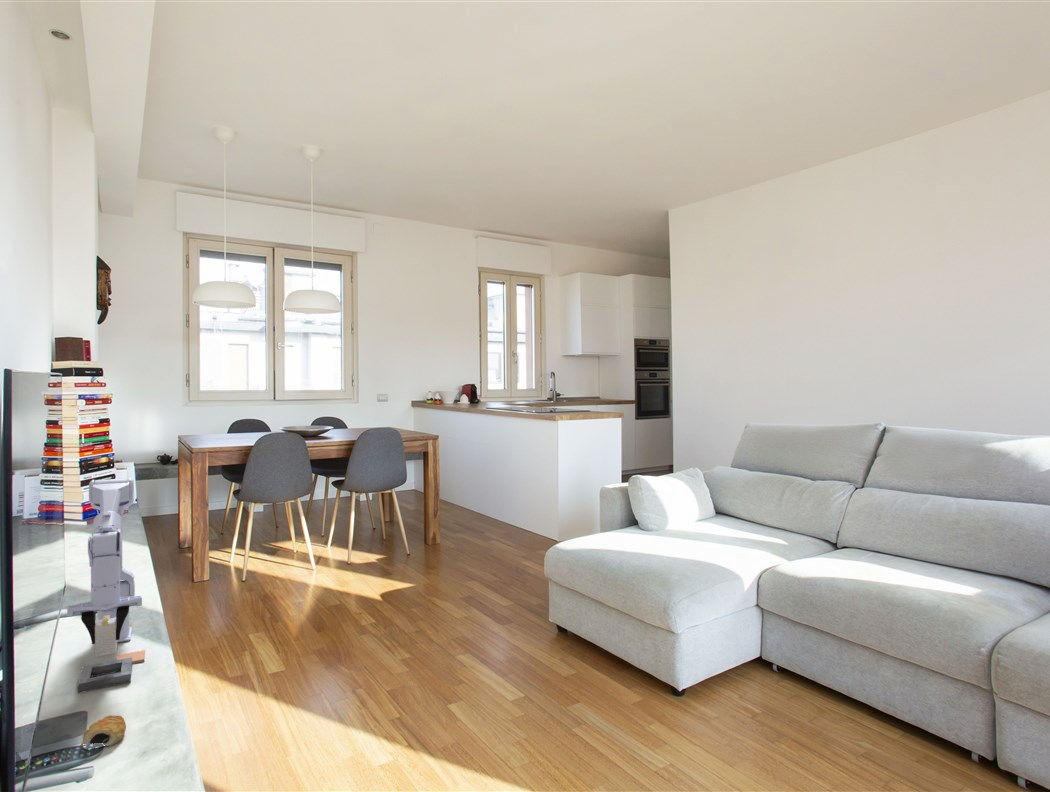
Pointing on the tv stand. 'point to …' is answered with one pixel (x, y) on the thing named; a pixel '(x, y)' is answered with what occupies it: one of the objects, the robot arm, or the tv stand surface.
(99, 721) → the pastry
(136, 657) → the terracotta pad
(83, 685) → the charcoal socket
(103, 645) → the steel key
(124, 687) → the tv stand surface
